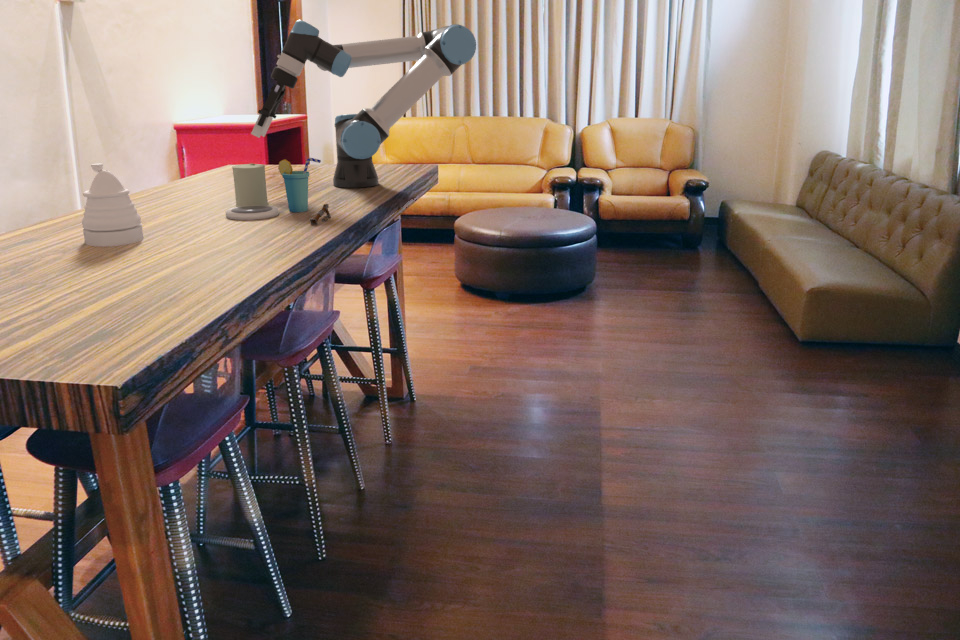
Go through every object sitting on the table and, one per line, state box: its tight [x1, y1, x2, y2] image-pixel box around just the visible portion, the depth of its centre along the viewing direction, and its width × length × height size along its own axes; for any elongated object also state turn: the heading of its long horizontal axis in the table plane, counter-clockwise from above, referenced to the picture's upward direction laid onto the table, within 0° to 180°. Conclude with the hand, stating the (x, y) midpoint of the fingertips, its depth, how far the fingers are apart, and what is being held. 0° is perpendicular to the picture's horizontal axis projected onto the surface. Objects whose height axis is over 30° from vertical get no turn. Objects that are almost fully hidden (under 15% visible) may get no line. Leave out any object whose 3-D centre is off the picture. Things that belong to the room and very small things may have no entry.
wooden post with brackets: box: [309, 203, 332, 226], centre depth 213 cm, size 2×8×4 cm, turn 157°
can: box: [231, 163, 269, 207], centre depth 235 cm, size 9×9×12 cm
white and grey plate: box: [225, 205, 280, 221], centre depth 222 cm, size 14×14×2 cm
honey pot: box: [81, 163, 144, 248], centre depth 190 cm, size 13×13×18 cm
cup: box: [278, 157, 322, 213], centre depth 226 cm, size 14×8×15 cm, turn 73°
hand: (257, 135), depth 248 cm, fingers open, 13 cm apart
